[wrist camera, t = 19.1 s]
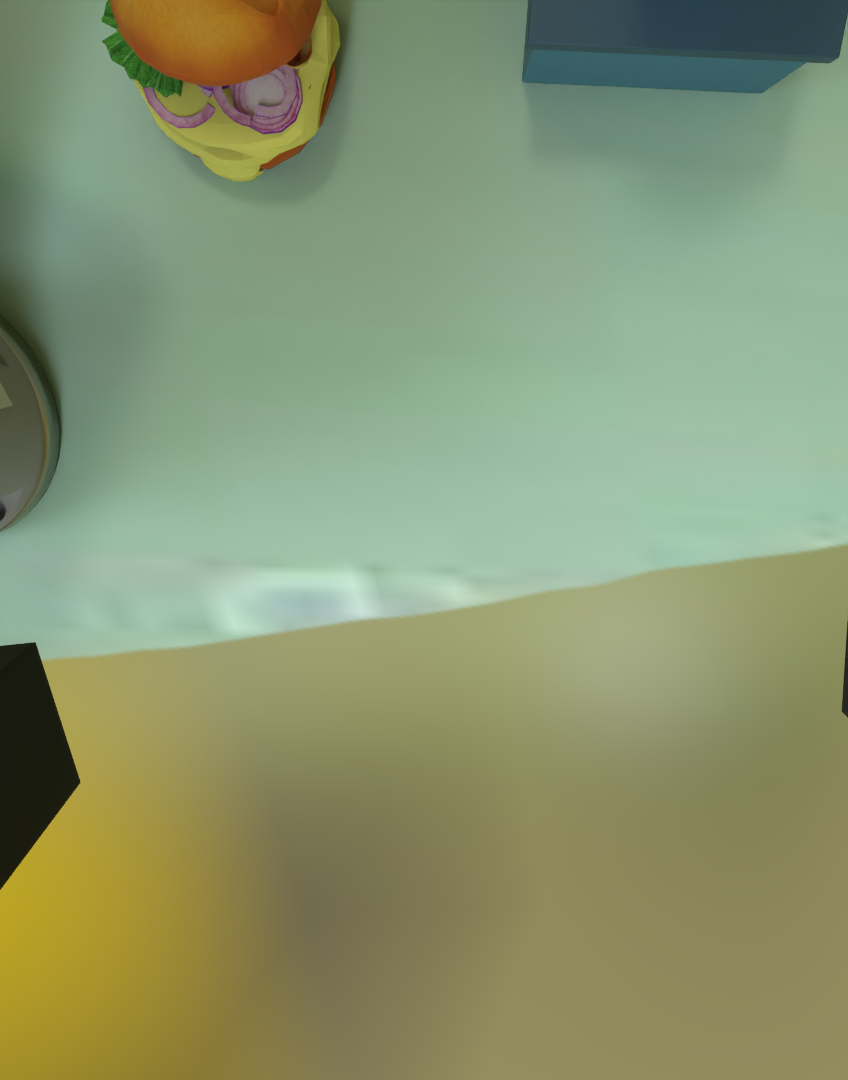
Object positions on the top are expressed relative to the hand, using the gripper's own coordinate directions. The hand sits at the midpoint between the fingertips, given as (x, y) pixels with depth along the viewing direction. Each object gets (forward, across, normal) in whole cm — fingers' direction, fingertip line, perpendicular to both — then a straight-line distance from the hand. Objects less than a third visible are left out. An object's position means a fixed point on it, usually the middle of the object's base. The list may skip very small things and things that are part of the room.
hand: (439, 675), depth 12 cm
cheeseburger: (+32, -8, +18) cm, 38 cm away
